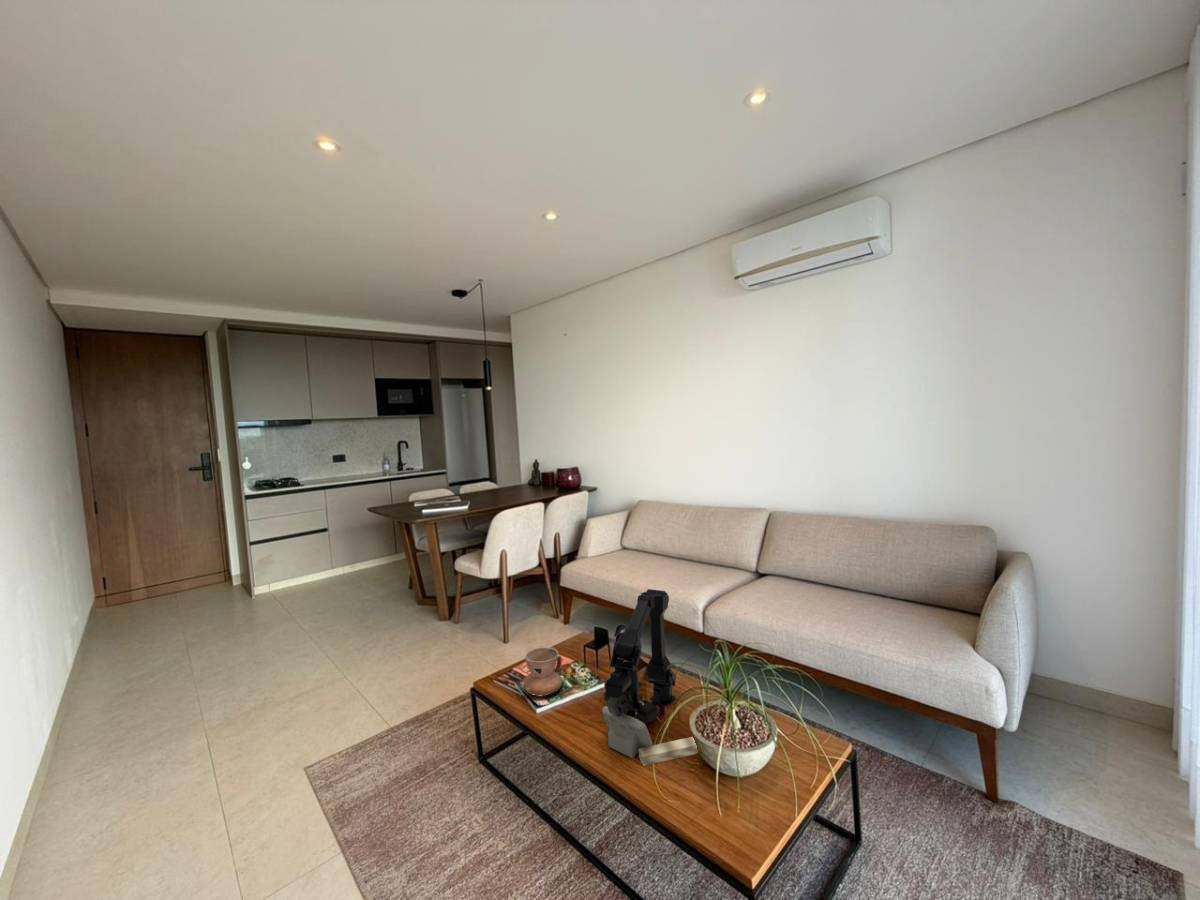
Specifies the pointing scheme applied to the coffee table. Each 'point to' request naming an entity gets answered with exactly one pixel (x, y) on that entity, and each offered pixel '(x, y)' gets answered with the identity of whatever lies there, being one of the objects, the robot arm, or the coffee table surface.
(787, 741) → the coffee table surface
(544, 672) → the brown mug
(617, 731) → the digital clock
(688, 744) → the pale gray wavy block
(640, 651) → the robot arm
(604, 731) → the coffee table surface
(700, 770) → the coffee table surface
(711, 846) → the coffee table surface
